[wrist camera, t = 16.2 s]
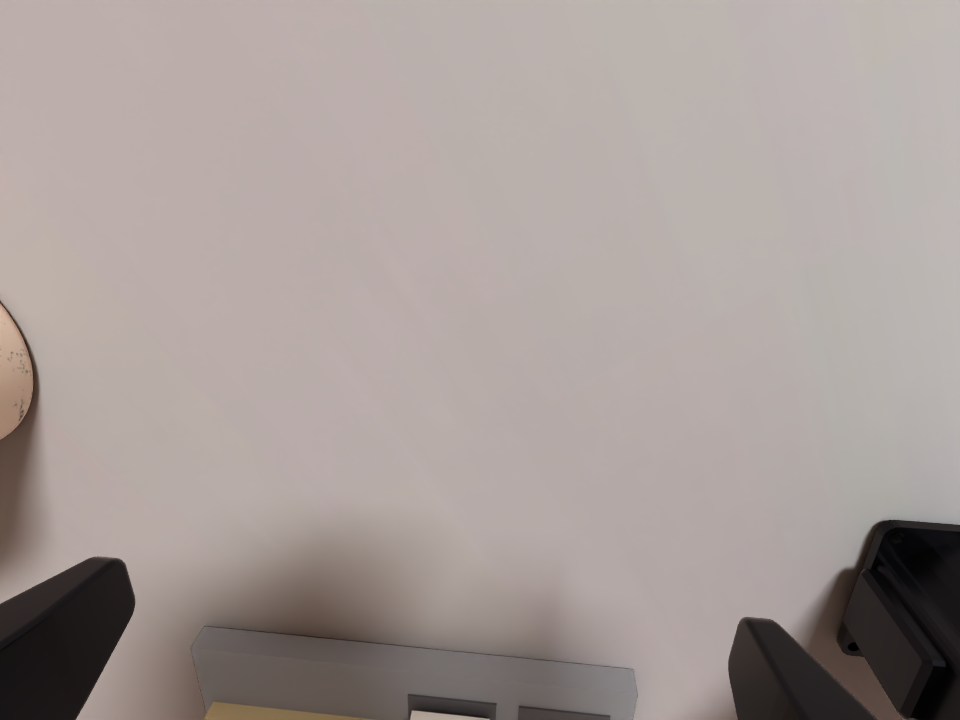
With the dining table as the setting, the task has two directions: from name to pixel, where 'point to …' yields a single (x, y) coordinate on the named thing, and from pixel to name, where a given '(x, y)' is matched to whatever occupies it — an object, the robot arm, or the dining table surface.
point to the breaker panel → (394, 682)
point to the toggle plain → (439, 716)
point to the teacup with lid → (13, 375)
